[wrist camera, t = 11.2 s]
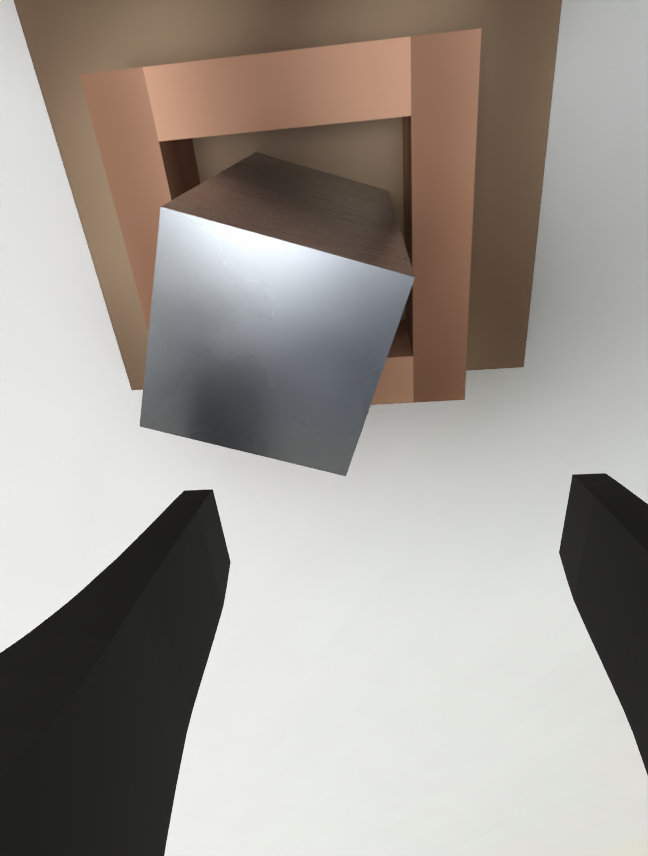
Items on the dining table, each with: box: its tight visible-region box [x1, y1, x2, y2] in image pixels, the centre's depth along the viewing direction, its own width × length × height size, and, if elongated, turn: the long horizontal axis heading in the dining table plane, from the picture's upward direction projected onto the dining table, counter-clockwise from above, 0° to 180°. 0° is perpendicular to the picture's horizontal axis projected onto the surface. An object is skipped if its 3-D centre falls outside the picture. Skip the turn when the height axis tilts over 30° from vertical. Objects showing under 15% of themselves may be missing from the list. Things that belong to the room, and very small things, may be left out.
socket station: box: [14, 0, 562, 405], centre depth 12 cm, size 14×16×11 cm
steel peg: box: [140, 152, 415, 476], centre depth 13 cm, size 4×4×9 cm
